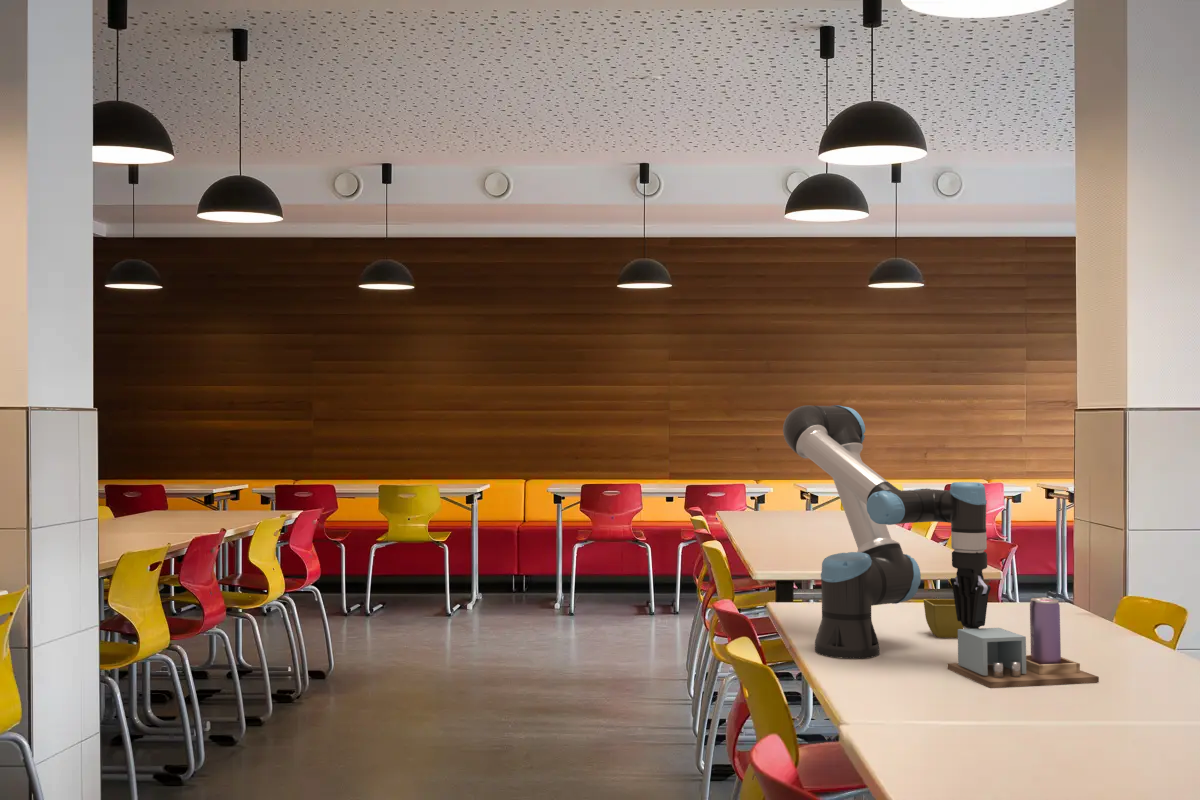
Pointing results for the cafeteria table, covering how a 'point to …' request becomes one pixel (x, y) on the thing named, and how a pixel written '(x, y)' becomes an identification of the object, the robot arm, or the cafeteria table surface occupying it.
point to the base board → (1031, 675)
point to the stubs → (1014, 669)
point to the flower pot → (942, 617)
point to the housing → (990, 649)
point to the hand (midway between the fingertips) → (971, 655)
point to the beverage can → (1045, 631)
